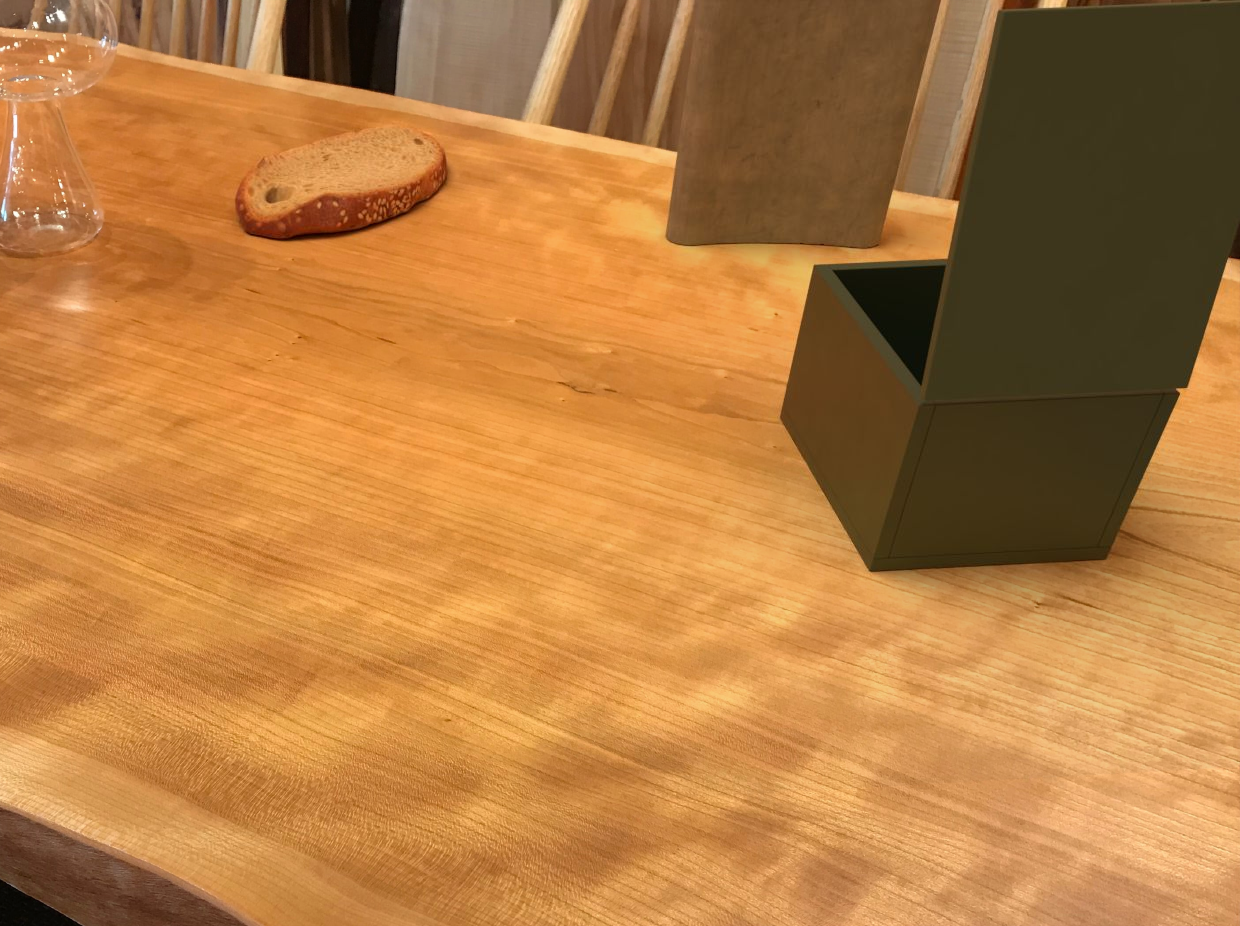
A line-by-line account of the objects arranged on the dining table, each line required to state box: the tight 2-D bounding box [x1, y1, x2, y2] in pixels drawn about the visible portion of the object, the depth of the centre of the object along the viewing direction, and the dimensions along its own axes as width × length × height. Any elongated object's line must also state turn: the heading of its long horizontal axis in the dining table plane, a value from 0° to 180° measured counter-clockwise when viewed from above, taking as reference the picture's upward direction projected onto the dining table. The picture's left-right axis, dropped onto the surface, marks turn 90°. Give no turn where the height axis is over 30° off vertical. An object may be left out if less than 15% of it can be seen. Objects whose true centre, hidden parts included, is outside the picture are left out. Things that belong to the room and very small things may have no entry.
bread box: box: [779, 258, 1181, 572], centre depth 71 cm, size 16×13×10 cm
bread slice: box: [234, 123, 448, 239], centre depth 106 cm, size 18×18×4 cm
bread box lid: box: [920, 0, 1240, 401], centre depth 57 cm, size 16×13×1 cm
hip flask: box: [665, 0, 942, 249], centre depth 93 cm, size 16×4×20 cm, turn 85°
